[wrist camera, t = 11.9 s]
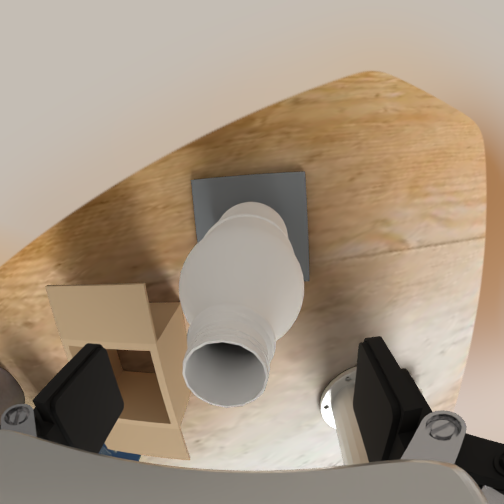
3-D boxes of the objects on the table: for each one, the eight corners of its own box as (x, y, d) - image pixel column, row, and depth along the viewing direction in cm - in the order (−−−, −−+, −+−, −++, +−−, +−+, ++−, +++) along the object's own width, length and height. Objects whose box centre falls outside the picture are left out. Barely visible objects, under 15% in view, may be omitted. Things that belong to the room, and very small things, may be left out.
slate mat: (303, 171, 34) (305, 171, 33) (308, 278, 37) (309, 281, 36) (193, 179, 34) (191, 180, 33) (204, 283, 37) (202, 286, 36)
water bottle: (209, 250, 35) (111, 402, 11) (233, 188, 33) (154, 239, 9) (269, 275, 36) (276, 460, 11) (296, 215, 34) (370, 326, 10)
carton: (173, 254, 37) (143, 284, 27) (202, 410, 42) (189, 460, 33) (90, 259, 37) (45, 286, 28) (130, 405, 43) (107, 449, 34)
